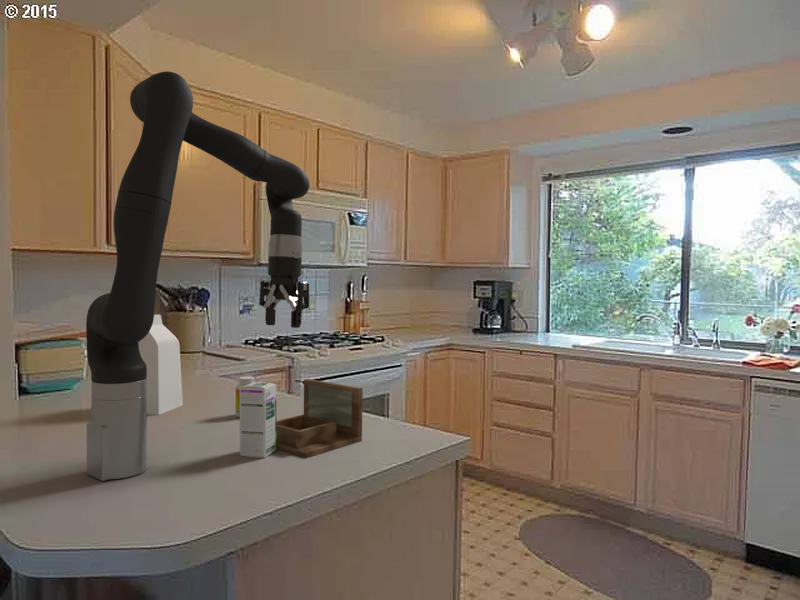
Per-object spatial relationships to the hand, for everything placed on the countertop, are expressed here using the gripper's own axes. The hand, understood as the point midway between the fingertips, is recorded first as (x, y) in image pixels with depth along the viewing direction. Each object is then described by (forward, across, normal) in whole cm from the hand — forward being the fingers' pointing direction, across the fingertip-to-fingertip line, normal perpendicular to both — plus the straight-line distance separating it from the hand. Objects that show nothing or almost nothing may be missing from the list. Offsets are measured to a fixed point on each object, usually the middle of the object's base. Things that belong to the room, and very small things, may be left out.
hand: (282, 326), depth 132 cm
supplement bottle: (+26, -23, +8) cm, 35 cm away
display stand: (+25, +7, +2) cm, 27 cm away
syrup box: (+26, +6, -11) cm, 29 cm away
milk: (+26, -49, -3) cm, 55 cm away
